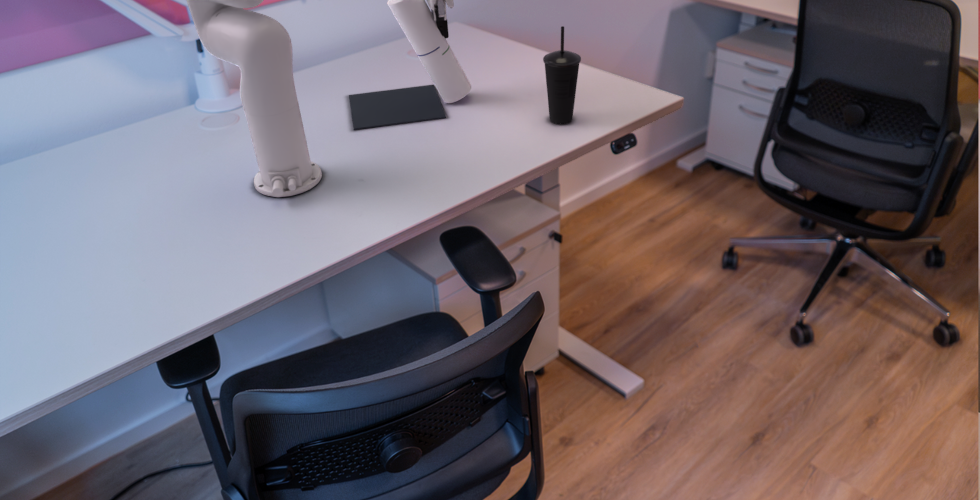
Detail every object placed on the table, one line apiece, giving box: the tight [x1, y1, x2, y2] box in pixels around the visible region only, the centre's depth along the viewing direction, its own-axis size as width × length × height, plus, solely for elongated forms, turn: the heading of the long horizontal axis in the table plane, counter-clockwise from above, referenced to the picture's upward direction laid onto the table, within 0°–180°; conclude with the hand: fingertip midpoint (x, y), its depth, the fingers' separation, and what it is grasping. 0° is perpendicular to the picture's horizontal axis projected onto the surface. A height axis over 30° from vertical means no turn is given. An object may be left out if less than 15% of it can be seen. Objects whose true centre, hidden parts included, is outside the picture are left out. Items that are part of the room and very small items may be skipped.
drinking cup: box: [542, 25, 582, 126], centre depth 149 cm, size 8×8×20 cm
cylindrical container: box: [386, 0, 472, 104], centre depth 158 cm, size 7×7×25 cm
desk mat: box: [348, 84, 447, 131], centre depth 164 cm, size 18×20×1 cm
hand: (440, 37), depth 157 cm, fingers closed
